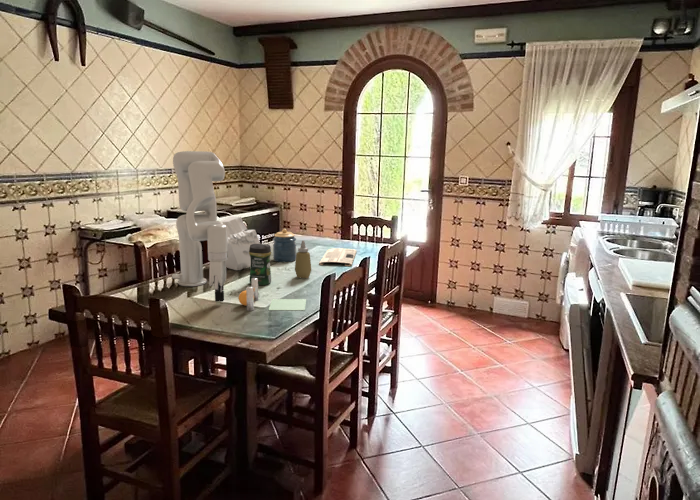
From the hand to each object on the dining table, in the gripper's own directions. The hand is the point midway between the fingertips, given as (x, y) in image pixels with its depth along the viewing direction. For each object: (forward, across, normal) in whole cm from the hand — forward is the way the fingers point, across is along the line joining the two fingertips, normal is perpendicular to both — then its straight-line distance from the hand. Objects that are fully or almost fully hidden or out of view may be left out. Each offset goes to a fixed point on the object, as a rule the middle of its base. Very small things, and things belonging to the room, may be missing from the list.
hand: (219, 300), depth 199 cm
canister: (+2, -82, +19) cm, 84 cm away
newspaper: (+2, -87, +48) cm, 100 cm away
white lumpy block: (+2, -62, -4) cm, 62 cm away
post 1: (+2, +6, +13) cm, 15 cm away
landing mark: (+2, 0, +27) cm, 27 cm away
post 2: (+2, -7, +13) cm, 15 cm away
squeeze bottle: (+2, -44, +31) cm, 54 cm away
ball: (-2, +1, +11) cm, 11 cm away
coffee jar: (+2, -32, +12) cm, 34 cm away
